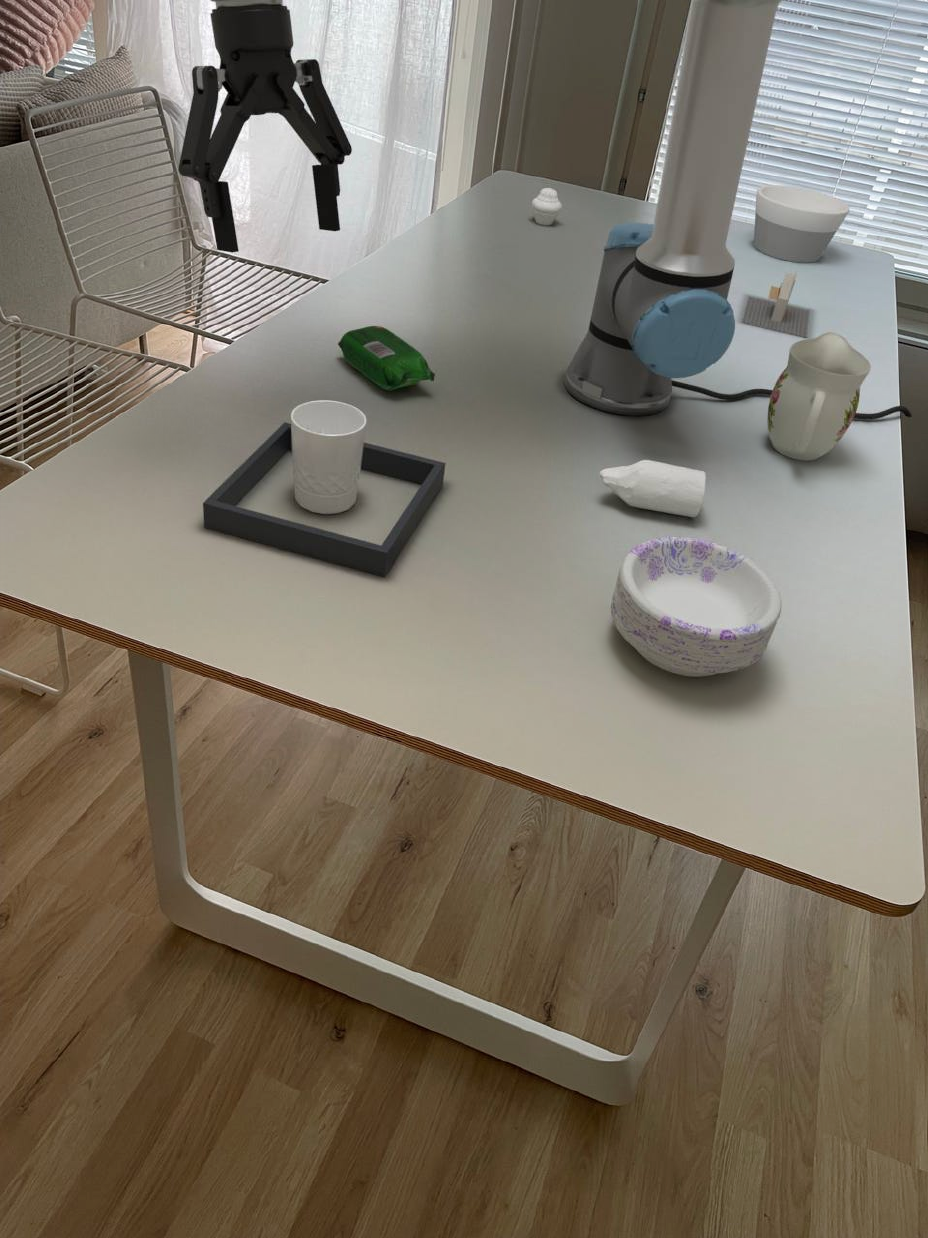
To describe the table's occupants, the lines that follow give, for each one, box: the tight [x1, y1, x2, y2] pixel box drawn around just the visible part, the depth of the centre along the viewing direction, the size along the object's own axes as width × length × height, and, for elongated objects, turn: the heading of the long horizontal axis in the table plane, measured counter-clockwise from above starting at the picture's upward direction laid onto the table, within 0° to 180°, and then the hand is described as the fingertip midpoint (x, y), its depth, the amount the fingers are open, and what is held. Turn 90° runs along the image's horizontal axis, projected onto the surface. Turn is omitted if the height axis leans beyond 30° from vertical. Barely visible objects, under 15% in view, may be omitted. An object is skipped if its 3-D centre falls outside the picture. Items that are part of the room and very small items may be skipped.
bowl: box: [753, 184, 851, 264], centre depth 203 cm, size 19×19×11 cm
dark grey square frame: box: [202, 421, 446, 578], centre depth 106 cm, size 20×20×3 cm
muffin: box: [531, 187, 562, 226], centre depth 199 cm, size 6×6×7 cm
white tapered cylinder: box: [599, 459, 707, 518], centre depth 114 cm, size 6×12×6 cm, turn 83°
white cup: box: [290, 399, 367, 515], centre depth 105 cm, size 8×8×10 cm
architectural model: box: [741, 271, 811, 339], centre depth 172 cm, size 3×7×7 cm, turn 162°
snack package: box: [337, 325, 436, 392], centre depth 132 cm, size 7×16×5 cm, turn 36°
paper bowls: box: [610, 536, 783, 678], centre depth 92 cm, size 15×15×8 cm
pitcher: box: [767, 332, 872, 461], centre depth 127 cm, size 11×18×14 cm, turn 160°
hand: (280, 240), depth 103 cm, fingers open, 13 cm apart
